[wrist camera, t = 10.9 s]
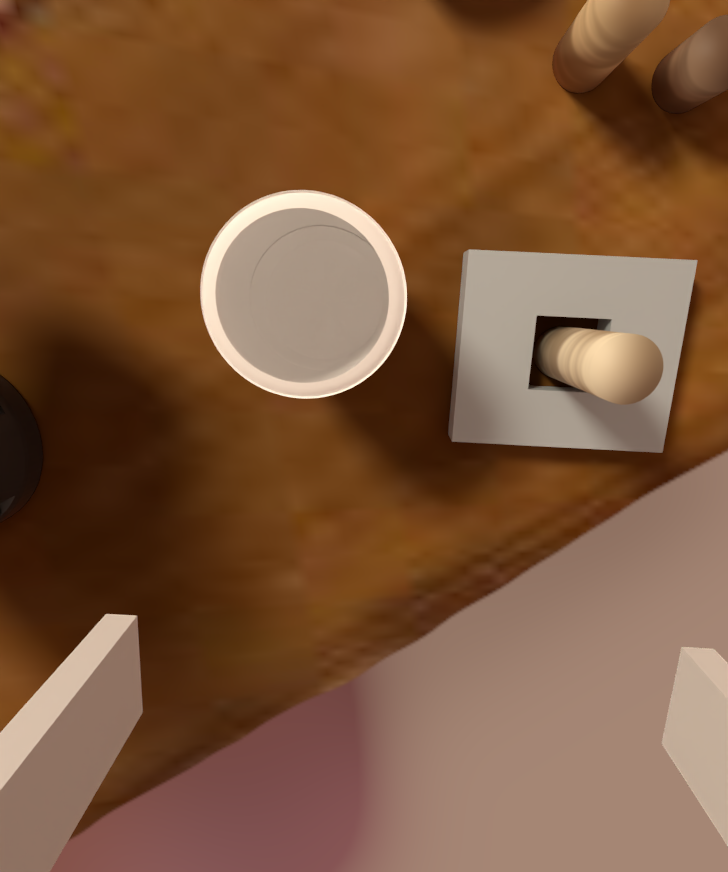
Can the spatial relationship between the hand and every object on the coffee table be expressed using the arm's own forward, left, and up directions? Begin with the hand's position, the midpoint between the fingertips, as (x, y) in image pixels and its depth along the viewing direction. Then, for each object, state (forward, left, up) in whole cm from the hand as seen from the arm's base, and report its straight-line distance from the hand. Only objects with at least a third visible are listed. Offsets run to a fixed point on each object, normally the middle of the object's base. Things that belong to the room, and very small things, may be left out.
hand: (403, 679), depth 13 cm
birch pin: (+13, +6, -32) cm, 35 cm away
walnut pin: (+19, +25, -32) cm, 44 cm away
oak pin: (+12, +26, -32) cm, 43 cm away
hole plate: (+13, +6, -32) cm, 35 cm away
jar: (-5, +9, -32) cm, 34 cm away
